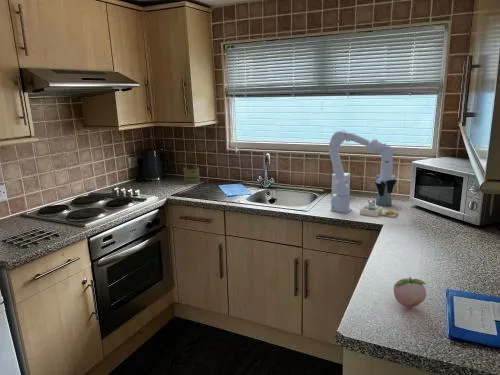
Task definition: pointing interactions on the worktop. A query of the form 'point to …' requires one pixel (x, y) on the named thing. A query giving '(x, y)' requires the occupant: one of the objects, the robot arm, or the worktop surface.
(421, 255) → the worktop surface
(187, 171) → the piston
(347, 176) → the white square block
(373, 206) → the coffee tamper
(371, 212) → the tray
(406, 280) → the decorative fruit
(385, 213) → the stud block
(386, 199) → the moka pot
